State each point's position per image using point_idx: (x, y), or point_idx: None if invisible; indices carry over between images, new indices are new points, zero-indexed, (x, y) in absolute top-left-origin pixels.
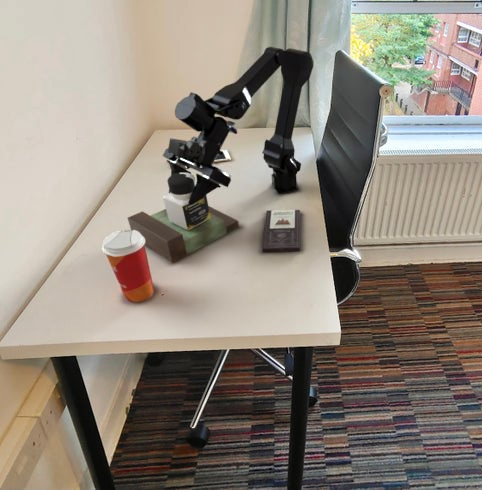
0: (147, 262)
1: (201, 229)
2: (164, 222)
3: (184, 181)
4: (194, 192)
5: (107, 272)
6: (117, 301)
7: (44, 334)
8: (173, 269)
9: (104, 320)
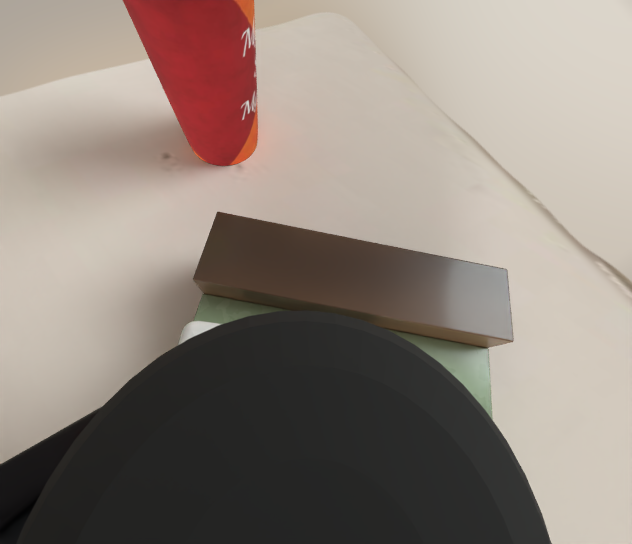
0: (148, 54)
1: None
2: None
3: (88, 476)
4: (23, 461)
5: (362, 164)
6: None
7: (300, 28)
8: None
9: None
